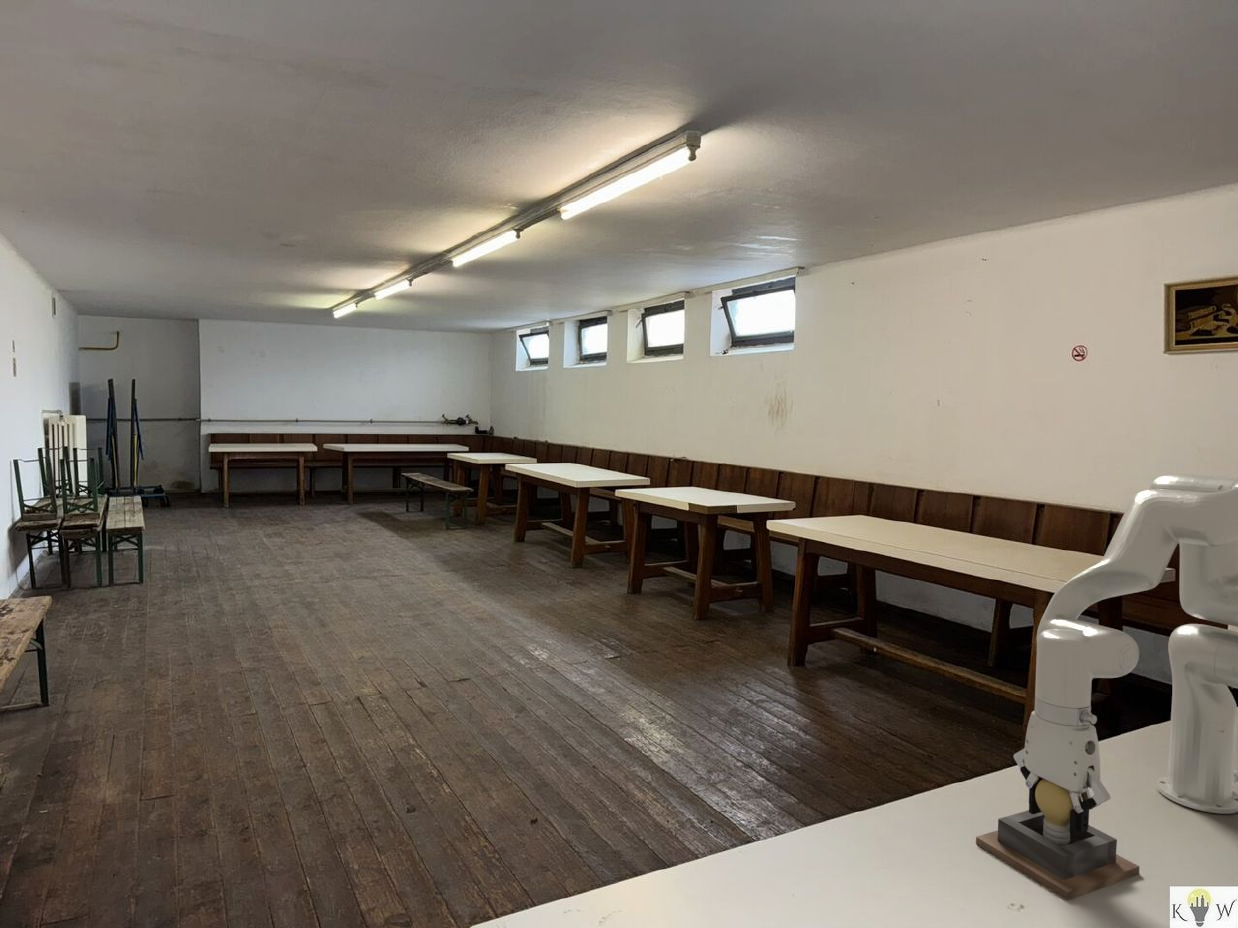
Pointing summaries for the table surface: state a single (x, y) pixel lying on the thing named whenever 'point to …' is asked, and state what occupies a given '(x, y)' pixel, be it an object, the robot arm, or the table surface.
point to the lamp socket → (1058, 855)
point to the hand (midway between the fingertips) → (1057, 821)
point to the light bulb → (1055, 811)
